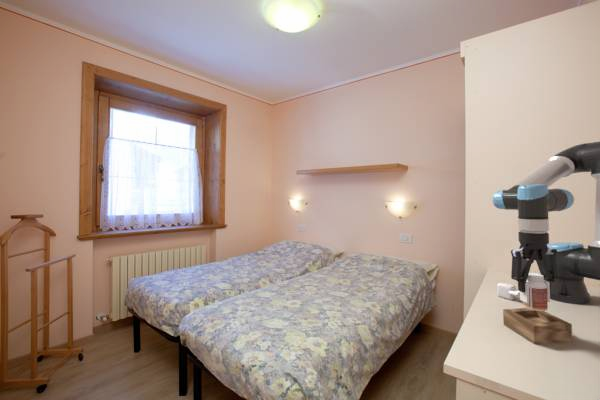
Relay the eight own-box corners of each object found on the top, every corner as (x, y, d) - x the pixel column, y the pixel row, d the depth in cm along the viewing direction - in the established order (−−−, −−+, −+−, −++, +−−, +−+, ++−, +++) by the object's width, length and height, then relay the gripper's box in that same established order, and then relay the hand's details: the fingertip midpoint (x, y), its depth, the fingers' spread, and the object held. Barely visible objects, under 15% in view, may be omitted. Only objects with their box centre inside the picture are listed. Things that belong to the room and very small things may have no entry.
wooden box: (536, 322, 94) (536, 307, 94) (572, 341, 82) (571, 324, 82) (503, 324, 94) (503, 309, 94) (534, 344, 82) (533, 326, 82)
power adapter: (532, 303, 109) (532, 289, 109) (525, 305, 107) (525, 291, 107) (502, 294, 120) (502, 281, 119) (496, 296, 118) (495, 283, 117)
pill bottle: (550, 308, 87) (549, 274, 87) (544, 313, 84) (543, 279, 83) (526, 302, 92) (525, 270, 92) (519, 307, 89) (519, 274, 89)
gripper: (550, 228, 91) (552, 294, 92) (495, 231, 91) (497, 297, 91) (573, 231, 84) (575, 303, 84) (514, 234, 83) (515, 307, 84)
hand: (534, 300), depth 88 cm, fingers closed on pill bottle, 6 cm apart
